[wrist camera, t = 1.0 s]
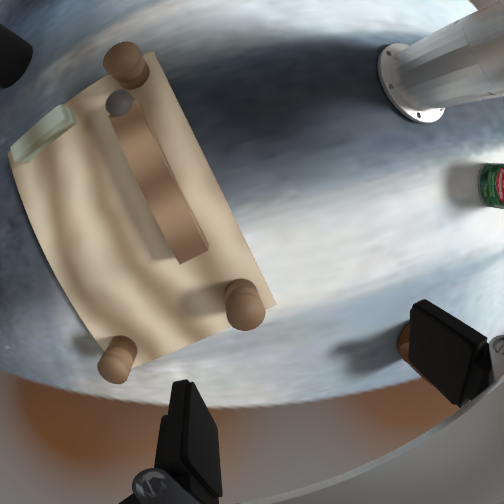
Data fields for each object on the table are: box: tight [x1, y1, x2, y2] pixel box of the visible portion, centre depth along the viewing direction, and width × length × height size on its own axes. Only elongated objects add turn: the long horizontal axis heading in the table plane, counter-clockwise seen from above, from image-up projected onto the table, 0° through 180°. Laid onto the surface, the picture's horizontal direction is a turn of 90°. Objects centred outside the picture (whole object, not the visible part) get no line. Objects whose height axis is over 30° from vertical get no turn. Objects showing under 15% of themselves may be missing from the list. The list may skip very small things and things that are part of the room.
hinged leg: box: [105, 89, 209, 265], centre depth 24 cm, size 18×3×4 cm, turn 25°
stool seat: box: [7, 42, 276, 384], centre depth 25 cm, size 22×32×7 cm
